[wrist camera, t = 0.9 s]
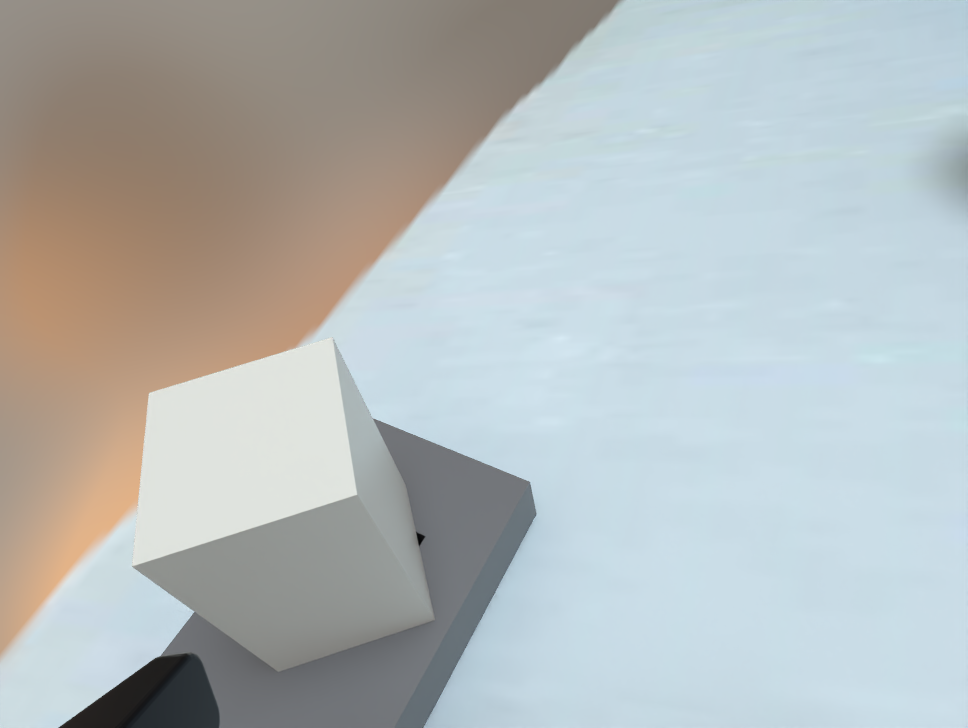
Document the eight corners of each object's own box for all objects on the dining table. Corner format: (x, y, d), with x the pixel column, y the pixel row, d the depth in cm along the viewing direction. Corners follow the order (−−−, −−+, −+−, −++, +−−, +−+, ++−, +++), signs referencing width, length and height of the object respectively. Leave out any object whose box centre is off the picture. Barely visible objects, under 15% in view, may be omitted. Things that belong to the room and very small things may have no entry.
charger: (447, 640, 22) (357, 494, 14) (302, 688, 22) (131, 566, 14) (418, 511, 25) (332, 337, 18) (291, 552, 25) (149, 393, 17)
